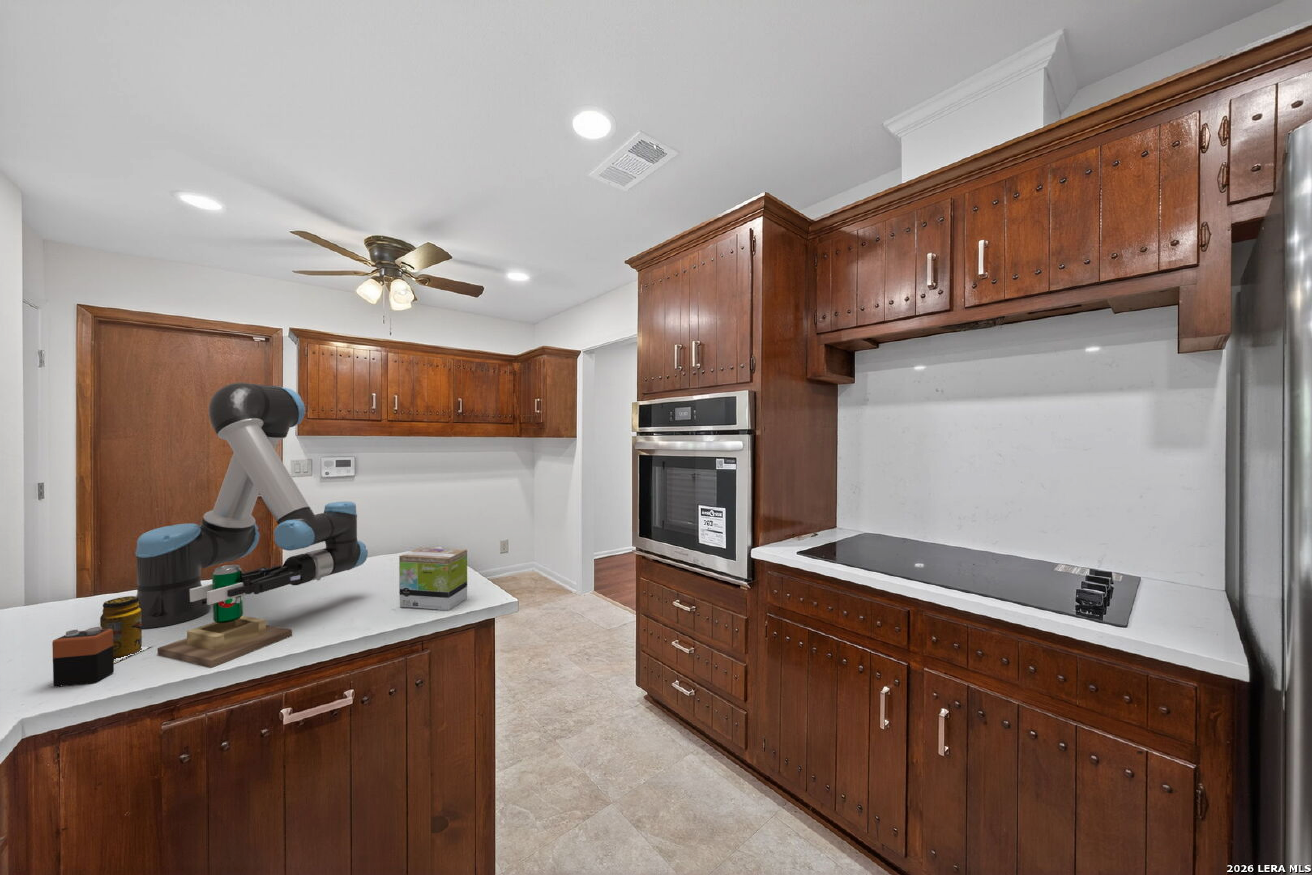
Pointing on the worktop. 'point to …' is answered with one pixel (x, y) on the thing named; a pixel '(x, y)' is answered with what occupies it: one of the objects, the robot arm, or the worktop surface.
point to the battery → (83, 656)
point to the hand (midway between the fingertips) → (199, 596)
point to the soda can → (233, 606)
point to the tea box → (433, 578)
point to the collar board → (224, 641)
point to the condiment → (123, 625)
